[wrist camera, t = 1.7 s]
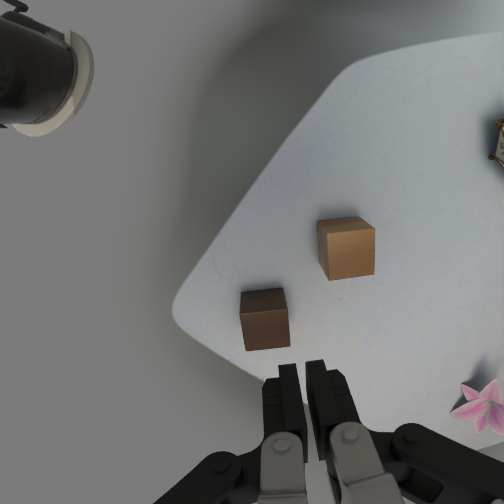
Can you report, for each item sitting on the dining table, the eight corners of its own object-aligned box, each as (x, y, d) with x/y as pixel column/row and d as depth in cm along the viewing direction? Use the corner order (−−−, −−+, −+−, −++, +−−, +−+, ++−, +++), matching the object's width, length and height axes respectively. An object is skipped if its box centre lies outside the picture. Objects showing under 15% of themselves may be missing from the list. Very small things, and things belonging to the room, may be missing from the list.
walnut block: (240, 292, 30) (239, 313, 26) (283, 287, 30) (287, 308, 26) (246, 327, 31) (245, 351, 28) (286, 323, 31) (290, 346, 27)
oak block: (316, 220, 28) (326, 233, 24) (359, 216, 28) (375, 228, 24) (318, 263, 29) (328, 281, 25) (359, 257, 29) (374, 274, 25)
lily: (484, 343, 34) (486, 397, 27) (532, 366, 31) (538, 416, 24) (440, 388, 42) (433, 437, 34) (487, 406, 38) (485, 453, 31)
